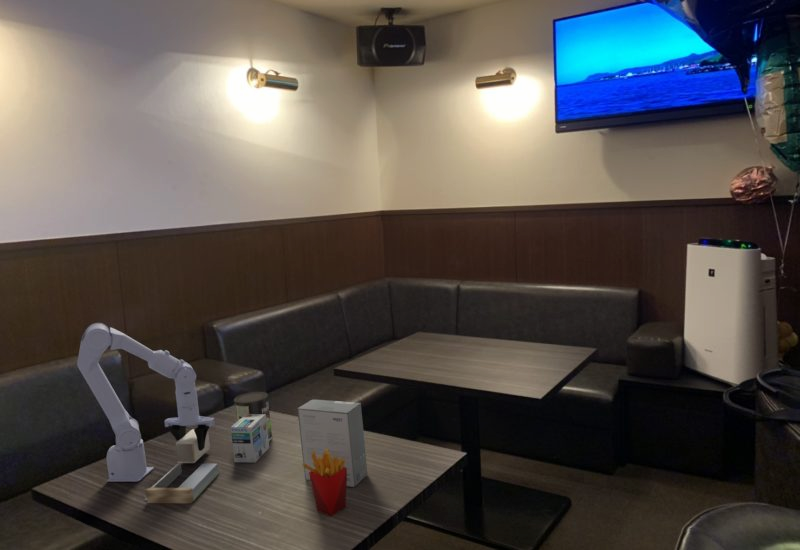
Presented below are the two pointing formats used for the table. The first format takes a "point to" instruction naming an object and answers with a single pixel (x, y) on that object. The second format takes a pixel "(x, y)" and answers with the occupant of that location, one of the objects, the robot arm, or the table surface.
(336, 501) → the french fries
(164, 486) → the grey panel
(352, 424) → the hard drive box
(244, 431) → the light bulb box
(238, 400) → the coffee can
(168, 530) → the table surface
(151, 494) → the shelf rail
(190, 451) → the cream rectangular block
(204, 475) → the two-layer flat tile
